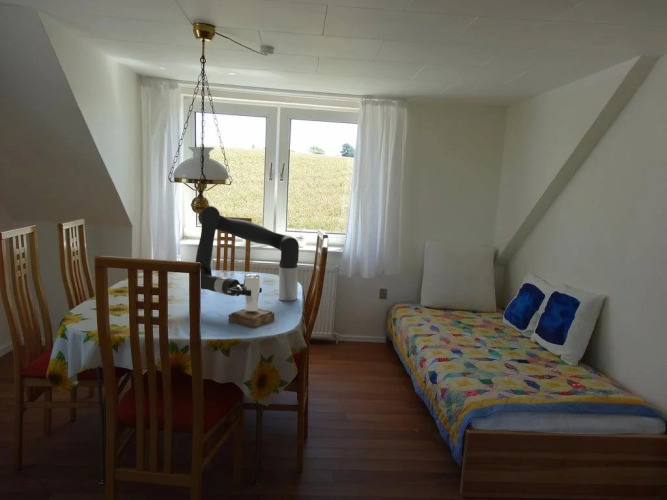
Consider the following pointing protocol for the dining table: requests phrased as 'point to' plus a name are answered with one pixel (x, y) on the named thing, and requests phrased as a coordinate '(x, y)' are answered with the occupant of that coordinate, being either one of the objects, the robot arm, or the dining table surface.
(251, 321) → the walnut stand
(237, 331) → the dining table surface
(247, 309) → the beer glass
